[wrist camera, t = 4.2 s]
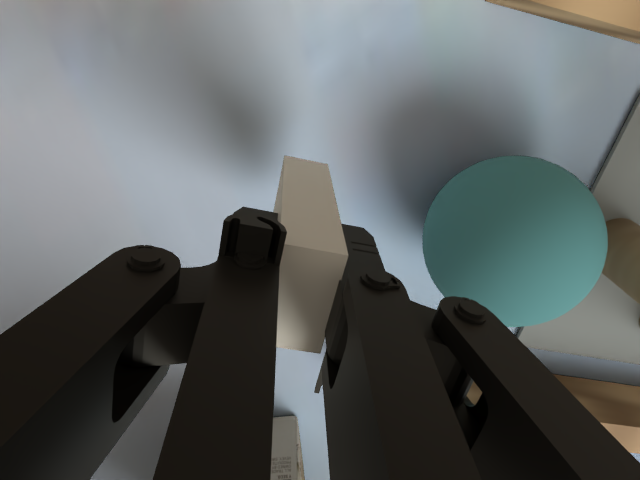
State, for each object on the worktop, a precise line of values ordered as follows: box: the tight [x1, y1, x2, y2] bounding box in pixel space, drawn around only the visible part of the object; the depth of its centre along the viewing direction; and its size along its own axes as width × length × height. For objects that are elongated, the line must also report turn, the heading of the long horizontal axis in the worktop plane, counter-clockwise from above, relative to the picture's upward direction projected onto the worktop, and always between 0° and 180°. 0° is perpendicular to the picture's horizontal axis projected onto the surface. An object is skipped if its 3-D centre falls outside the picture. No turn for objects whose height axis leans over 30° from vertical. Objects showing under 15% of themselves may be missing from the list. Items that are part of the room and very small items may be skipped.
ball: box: [423, 156, 608, 327], centre depth 17 cm, size 6×6×6 cm
